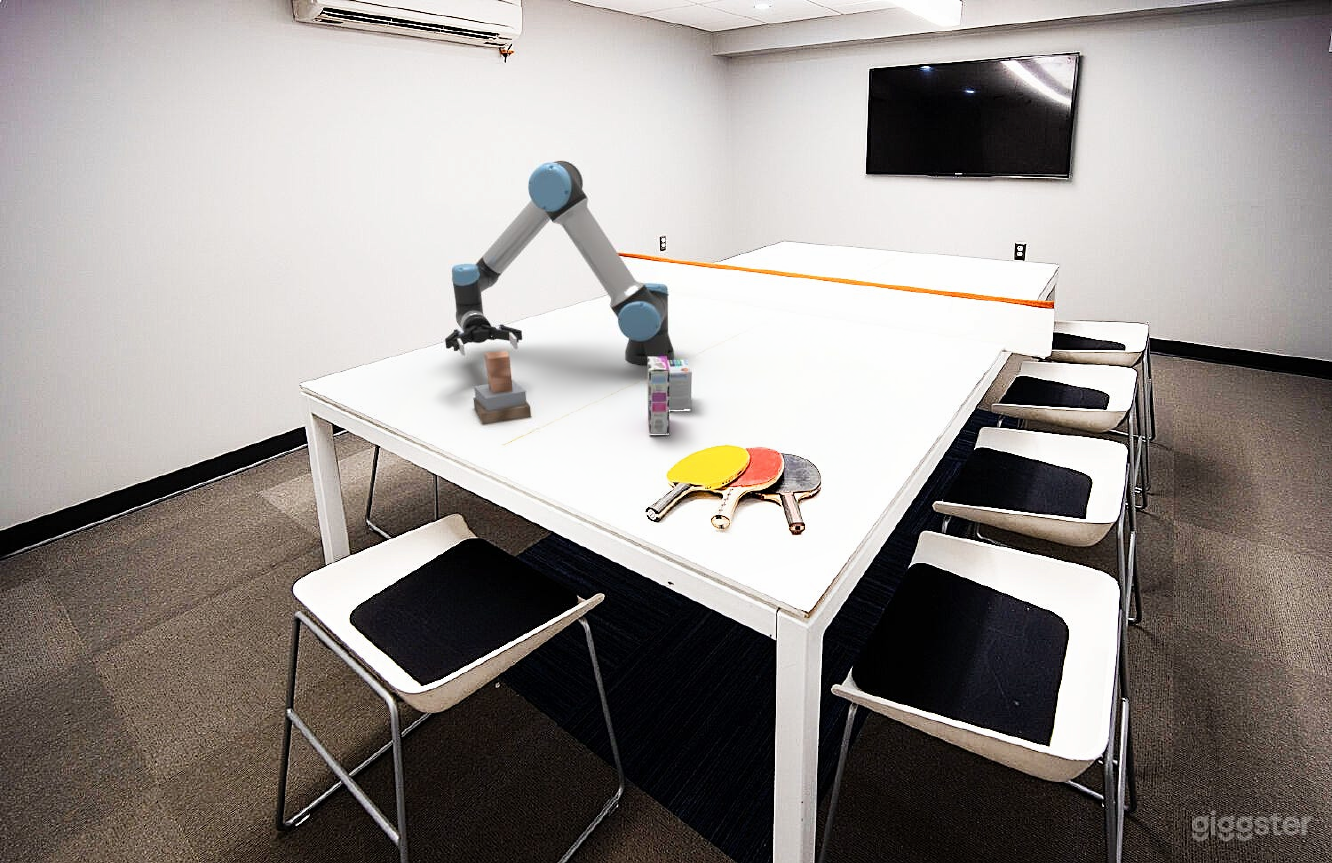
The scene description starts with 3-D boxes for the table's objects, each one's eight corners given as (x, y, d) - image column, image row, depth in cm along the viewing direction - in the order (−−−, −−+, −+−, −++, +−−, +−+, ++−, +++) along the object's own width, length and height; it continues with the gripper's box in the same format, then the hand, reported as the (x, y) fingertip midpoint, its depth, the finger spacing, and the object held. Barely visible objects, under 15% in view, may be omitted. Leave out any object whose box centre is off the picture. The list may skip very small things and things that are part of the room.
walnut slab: (520, 403, 194) (519, 391, 192) (531, 419, 184) (530, 406, 182) (474, 410, 189) (473, 397, 188) (483, 426, 179) (481, 413, 178)
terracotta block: (508, 384, 187) (505, 350, 183) (512, 390, 183) (509, 356, 179) (488, 386, 185) (485, 353, 181) (492, 393, 181) (488, 359, 177)
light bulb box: (662, 398, 195) (662, 359, 191) (687, 397, 195) (687, 358, 191) (666, 412, 185) (665, 372, 181) (692, 411, 186) (692, 371, 181)
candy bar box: (670, 436, 172) (670, 369, 165) (649, 436, 171) (648, 370, 165) (667, 418, 182) (667, 355, 175) (647, 418, 182) (646, 355, 175)
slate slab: (513, 392, 191) (512, 379, 190) (526, 404, 184) (525, 391, 182) (475, 399, 187) (474, 386, 186) (487, 411, 179) (486, 398, 178)
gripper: (521, 334, 213) (538, 354, 195) (432, 345, 204) (441, 367, 186) (518, 309, 210) (536, 327, 192) (428, 318, 201) (438, 338, 183)
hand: (489, 347), depth 189 cm, fingers open, 13 cm apart
